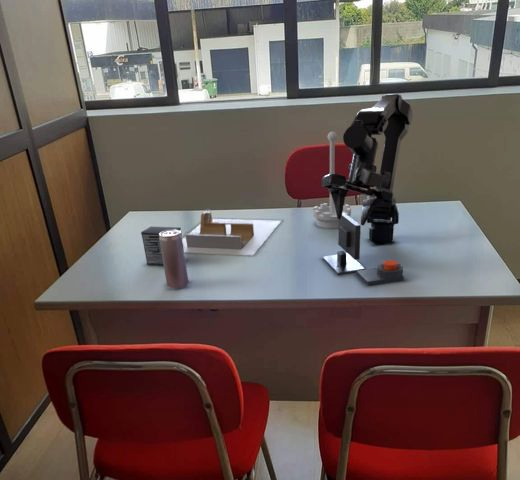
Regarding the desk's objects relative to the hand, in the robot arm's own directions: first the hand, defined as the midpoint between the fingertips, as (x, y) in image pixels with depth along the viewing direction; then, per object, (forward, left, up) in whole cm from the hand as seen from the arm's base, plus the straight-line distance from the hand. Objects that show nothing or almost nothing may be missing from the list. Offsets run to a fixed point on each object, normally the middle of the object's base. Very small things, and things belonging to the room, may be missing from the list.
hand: (350, 222), depth 136 cm
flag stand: (-11, -45, -15) cm, 49 cm away
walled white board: (+26, -47, -15) cm, 56 cm away
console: (-7, +5, -15) cm, 17 cm away
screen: (-2, -7, -11) cm, 13 cm away
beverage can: (+46, -10, -15) cm, 50 cm away
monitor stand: (-2, -7, -15) cm, 16 cm away
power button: (-9, +6, -12) cm, 16 cm away
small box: (+48, -29, -15) cm, 58 cm away
